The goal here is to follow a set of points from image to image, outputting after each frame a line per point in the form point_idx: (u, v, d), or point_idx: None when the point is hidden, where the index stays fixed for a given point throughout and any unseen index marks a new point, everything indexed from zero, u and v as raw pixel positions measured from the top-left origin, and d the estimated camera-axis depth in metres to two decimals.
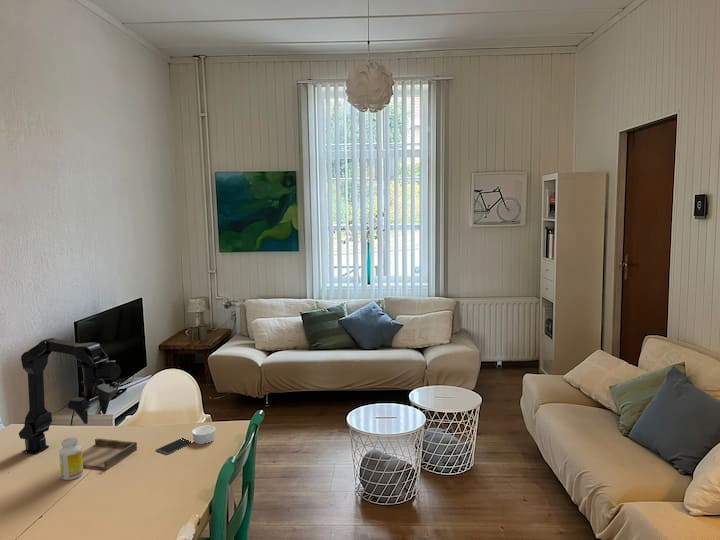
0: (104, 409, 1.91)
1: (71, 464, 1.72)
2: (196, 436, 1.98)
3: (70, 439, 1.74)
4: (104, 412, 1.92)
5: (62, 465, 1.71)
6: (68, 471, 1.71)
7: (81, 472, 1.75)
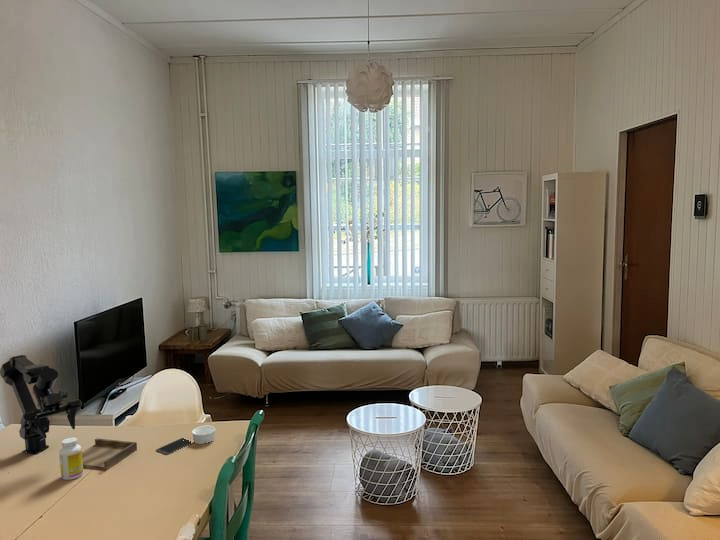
0: (71, 423, 1.82)
1: (71, 464, 1.72)
2: (196, 436, 1.98)
3: (70, 439, 1.74)
4: (73, 426, 1.82)
5: (62, 465, 1.71)
6: (68, 471, 1.71)
7: (81, 472, 1.75)
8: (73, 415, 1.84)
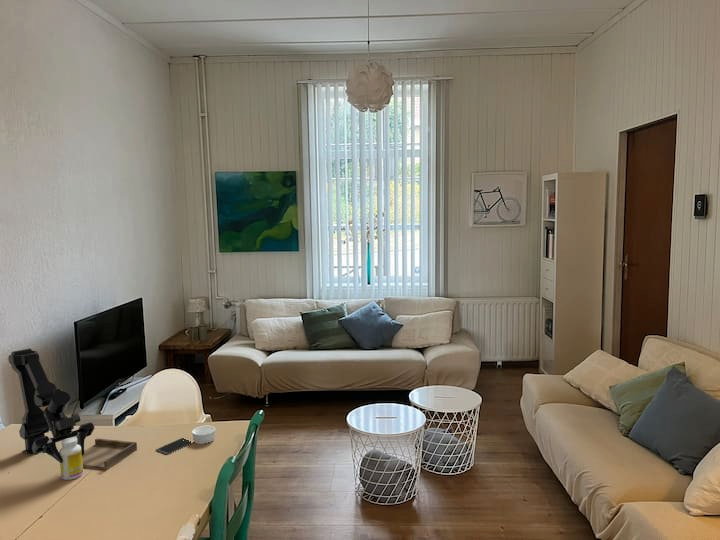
0: (81, 449, 1.77)
1: (71, 464, 1.72)
2: (196, 436, 1.98)
3: (70, 439, 1.74)
4: (82, 452, 1.76)
5: (62, 465, 1.71)
6: (68, 471, 1.71)
7: (81, 472, 1.75)
8: (82, 440, 1.78)
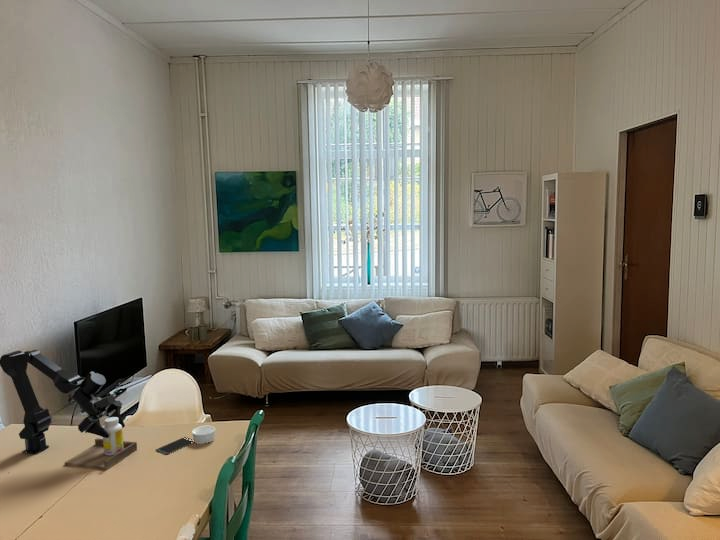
0: (120, 422, 1.93)
1: (118, 439, 1.88)
2: (196, 436, 1.98)
3: (111, 418, 1.89)
4: (122, 425, 1.93)
5: (109, 442, 1.86)
6: (116, 446, 1.87)
7: (123, 447, 1.91)
8: (119, 415, 1.94)
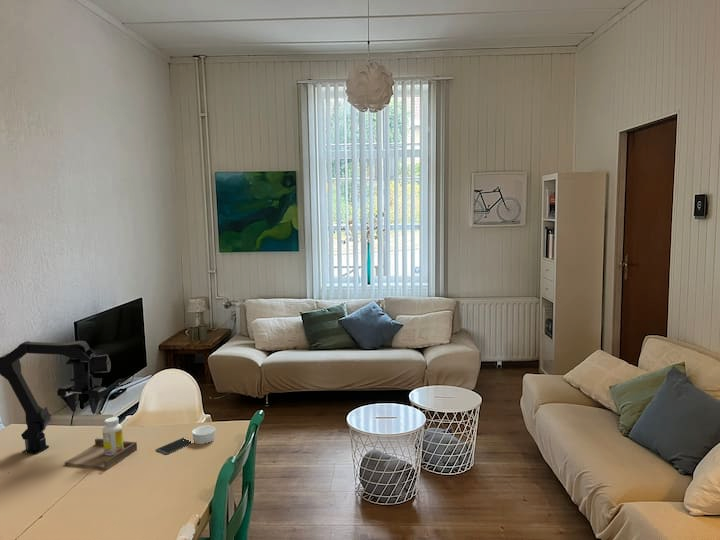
0: (74, 406, 1.99)
1: (118, 439, 1.88)
2: (196, 436, 1.98)
3: (111, 418, 1.89)
4: (75, 409, 1.99)
5: (109, 442, 1.86)
6: (116, 446, 1.87)
7: (123, 447, 1.91)
8: None
